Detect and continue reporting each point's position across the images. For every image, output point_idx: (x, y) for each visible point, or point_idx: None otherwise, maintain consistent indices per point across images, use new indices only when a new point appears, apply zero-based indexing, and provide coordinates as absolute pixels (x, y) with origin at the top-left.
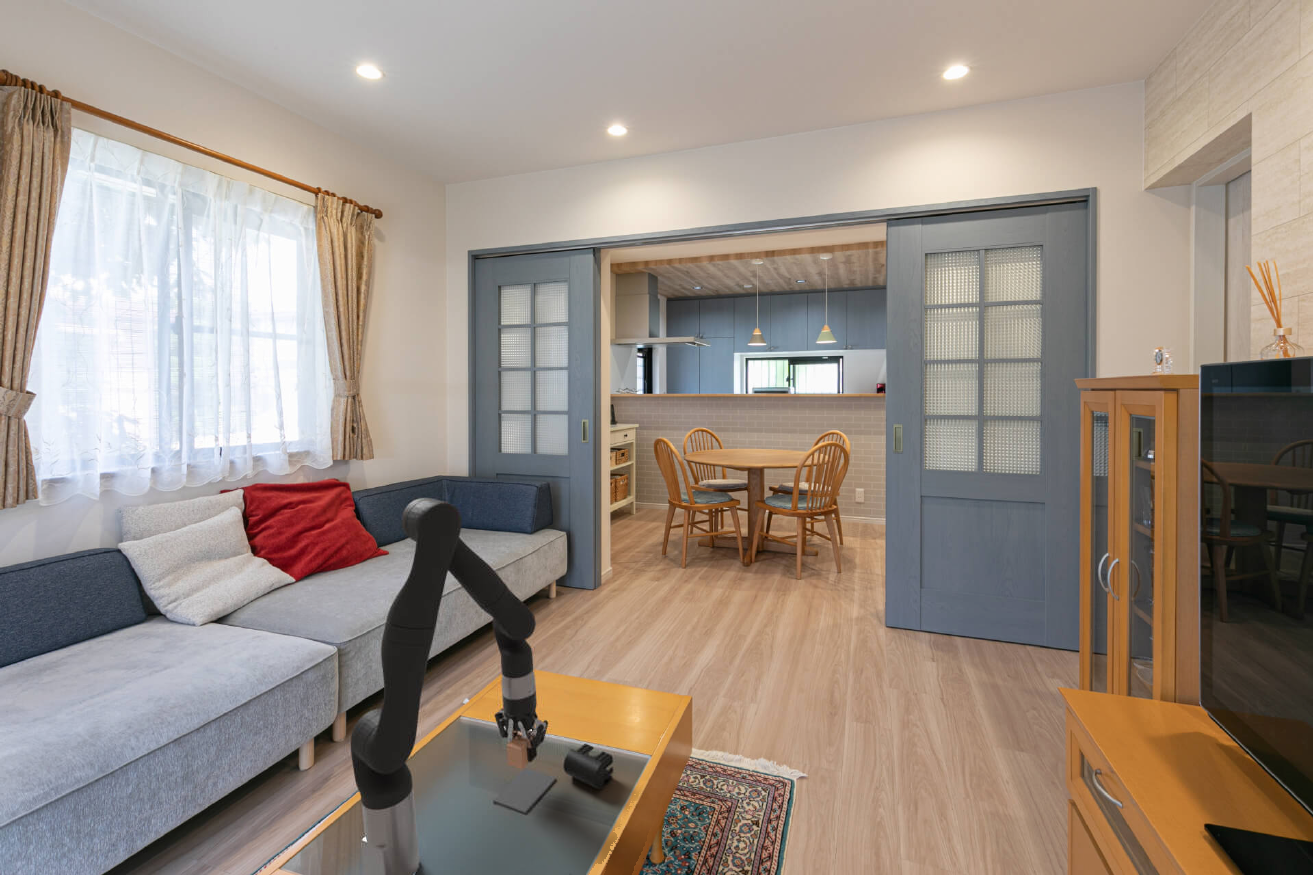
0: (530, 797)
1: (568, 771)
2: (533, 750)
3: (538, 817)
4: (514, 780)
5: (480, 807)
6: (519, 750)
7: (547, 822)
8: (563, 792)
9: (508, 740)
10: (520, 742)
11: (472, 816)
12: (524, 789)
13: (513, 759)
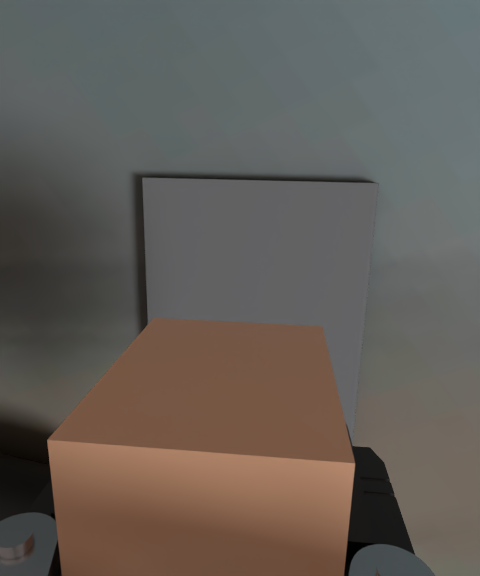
0: (185, 282)
1: (49, 478)
2: (38, 507)
3: (67, 182)
4: (350, 361)
5: (427, 115)
6: (89, 423)
7: (3, 170)
8: (67, 376)
9: (408, 566)
10: (174, 570)
11: (432, 27)
12: (254, 322)
13: (245, 354)
